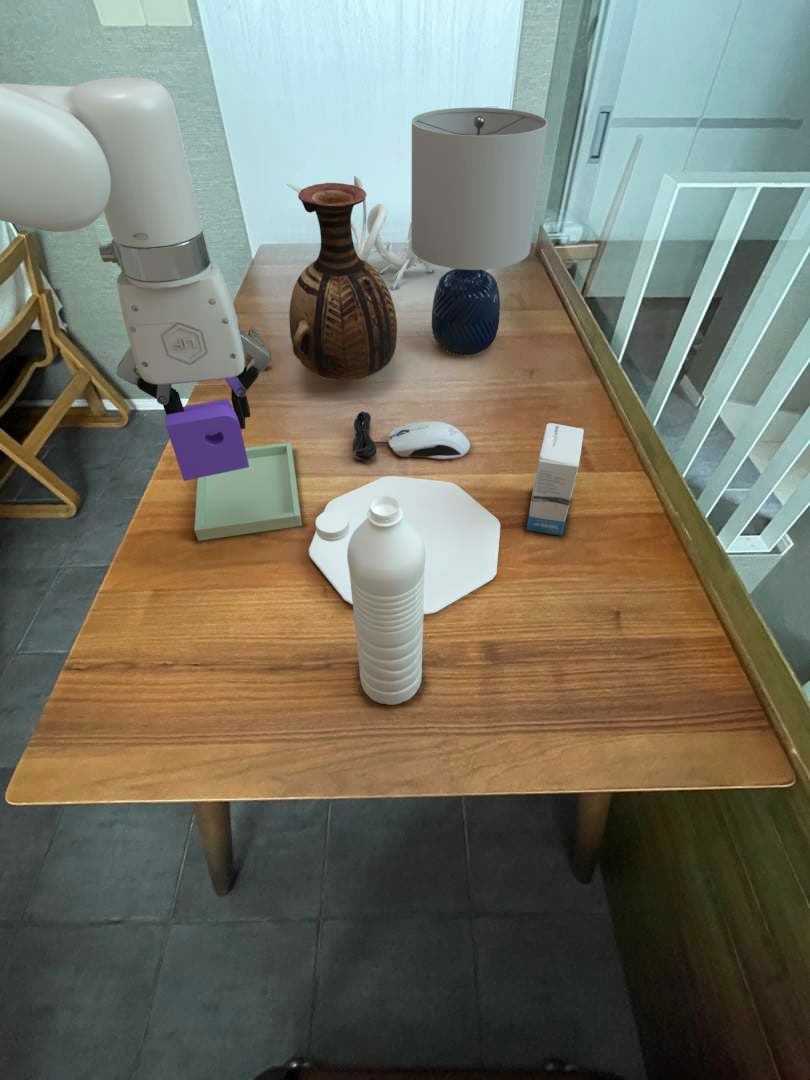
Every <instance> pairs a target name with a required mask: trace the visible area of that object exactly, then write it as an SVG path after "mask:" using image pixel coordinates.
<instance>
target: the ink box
mask: <svg viewBox="0 0 810 1080" xmlns="http://www.w3.org/2000/svg"><path fill="white" fill-rule="evenodd" d="M584 431H585V430H584V428H583V427H576V426H570V425H564V424H560V423H559V424H558V423H553V422H549V423H546V425H545V430H544V434H543V440H542V444H541V448H540V452H539V457H538V462H537V466H536V471H535V477H534V481H533V487H532V493H531V499H530V505H529V510H528V517H527V523H526V530H527V531H529V532H536V533H541V534H547V535H553V536H554V535H555V536H559V537H560V536H563V533H564V528H565V524H566V520H567V516H568V511H569V507H570V504H571V500H572V495H573V492H574V487H575V483H576V479H577V475H578V472H579V471H578V470H579V466H580V462H581V455H582V447H583V440H584Z"/></svg>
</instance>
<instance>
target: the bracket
mask: <svg viewBox="0 0 810 1080" xmlns="http://www.w3.org/2000/svg"><path fill="white" fill-rule="evenodd" d="M183 409H184V412H179V413H173V414H168V415H166V414H164V415H163V418H164V422H165V428H166V430H167V433H168V437H169V440H170V443H171V447H172V449H173V452H174V455H175V459H176V462H177V465H178V467H179V471H180V473H181V476H182V479H183V481H184V482H186V481H191V480H196V479H197V478H201V477H206V476H210V475H215V474H220V473H224V472H229V471H234V470H238V469H243V468H248V467H249V464H248V459H247V455H246V450H245V448H246V446H245V442H244V437H243V432H242V429H241V427H240V424H239V421H238V418H237V415H236V413H235V412H234V409H233V406H232V403H231V401H230V399H229V398H223V399H217V400H211V401H206V402H201V403H195V404H190V405H184V406H183Z"/></svg>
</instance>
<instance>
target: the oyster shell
mask: <svg viewBox="0 0 810 1080" xmlns="http://www.w3.org/2000/svg"><path fill="white" fill-rule="evenodd" d="M247 335H249V336H250V337H251V338H253V339H254V340H255V341H257V342H258V343H259V344H261V345H262V346H263V347H264V345H263V339H262V338H263V337H262V334H261V332H260V331H259V330H258V329H257V328H255V327H253V326H250V327H249V330H248V333H247ZM246 356H247V358H248V360H249V361H250V362H251V361H252V359H253V357H251V356H250V355H248V354H247V353H246ZM268 368H269V365H268V366H267V367H266V368H265V369H264V370H266V369H268Z"/></svg>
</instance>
